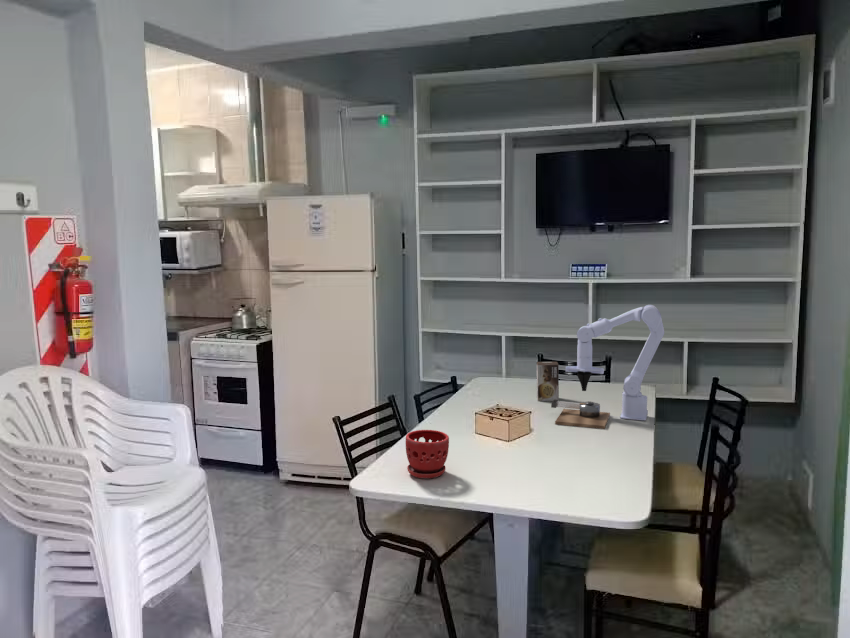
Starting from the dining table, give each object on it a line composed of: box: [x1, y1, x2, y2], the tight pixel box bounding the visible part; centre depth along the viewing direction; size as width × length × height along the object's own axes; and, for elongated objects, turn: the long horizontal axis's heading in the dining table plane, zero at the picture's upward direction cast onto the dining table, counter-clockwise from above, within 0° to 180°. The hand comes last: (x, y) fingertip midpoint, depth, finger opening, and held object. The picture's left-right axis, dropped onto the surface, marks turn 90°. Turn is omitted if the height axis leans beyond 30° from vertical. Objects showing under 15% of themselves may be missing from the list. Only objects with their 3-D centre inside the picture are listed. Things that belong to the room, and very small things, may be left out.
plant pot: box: [405, 429, 450, 479], centre depth 188 cm, size 13×13×12 cm
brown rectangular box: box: [536, 361, 560, 402], centre depth 269 cm, size 9×6×16 cm
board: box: [554, 408, 611, 430], centre depth 239 cm, size 18×18×1 cm
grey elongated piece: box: [550, 399, 601, 417], centre depth 243 cm, size 18×8×5 cm, turn 65°
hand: (584, 390), depth 247 cm, fingers closed
